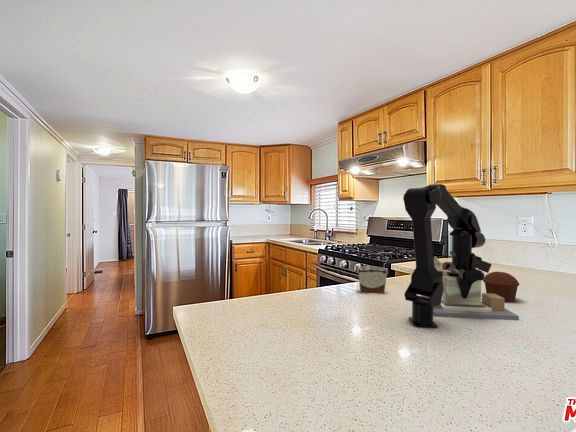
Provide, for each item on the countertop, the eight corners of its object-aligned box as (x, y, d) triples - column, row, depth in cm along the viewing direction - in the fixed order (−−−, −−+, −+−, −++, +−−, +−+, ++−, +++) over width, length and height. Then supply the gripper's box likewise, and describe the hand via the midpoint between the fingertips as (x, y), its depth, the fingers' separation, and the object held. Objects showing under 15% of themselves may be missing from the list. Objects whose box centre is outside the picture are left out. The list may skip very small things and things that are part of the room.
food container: (385, 290, 132) (385, 266, 131) (388, 294, 125) (388, 268, 125) (355, 289, 133) (355, 265, 133) (356, 293, 127) (356, 268, 126)
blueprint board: (518, 319, 96) (519, 302, 96) (425, 315, 99) (425, 299, 99) (493, 305, 110) (493, 290, 110) (412, 302, 114) (413, 287, 114)
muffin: (526, 301, 116) (527, 274, 115) (506, 304, 111) (506, 276, 111) (494, 293, 127) (495, 269, 126) (475, 296, 122) (475, 270, 122)
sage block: (480, 305, 102) (481, 280, 102) (448, 303, 103) (448, 279, 103) (473, 300, 107) (474, 277, 106) (442, 299, 108) (442, 276, 108)
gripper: (503, 253, 94) (502, 305, 94) (474, 246, 113) (474, 290, 113) (463, 252, 96) (463, 303, 96) (442, 246, 114) (441, 289, 114)
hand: (461, 296), depth 105 cm, fingers closed on sage block, 5 cm apart
